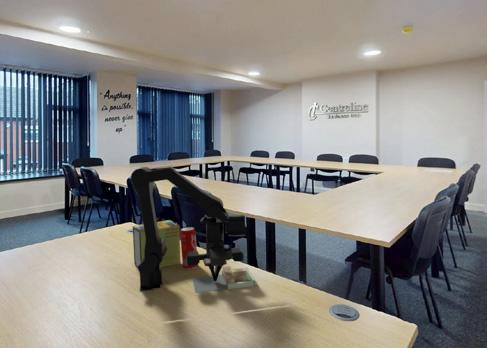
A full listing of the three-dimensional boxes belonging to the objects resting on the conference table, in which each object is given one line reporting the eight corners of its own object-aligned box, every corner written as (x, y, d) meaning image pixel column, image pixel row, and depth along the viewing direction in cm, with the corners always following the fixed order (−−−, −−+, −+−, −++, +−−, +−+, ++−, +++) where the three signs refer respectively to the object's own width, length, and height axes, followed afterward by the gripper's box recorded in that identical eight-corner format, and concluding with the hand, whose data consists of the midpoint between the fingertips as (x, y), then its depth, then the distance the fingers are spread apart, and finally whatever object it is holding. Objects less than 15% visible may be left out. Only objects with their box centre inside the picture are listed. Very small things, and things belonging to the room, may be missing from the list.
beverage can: (195, 270, 123) (194, 231, 122) (178, 269, 125) (177, 230, 123) (200, 264, 129) (199, 226, 128) (184, 263, 131) (183, 226, 129)
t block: (227, 286, 109) (227, 276, 109) (222, 276, 117) (222, 267, 117) (249, 284, 111) (248, 273, 110) (243, 274, 119) (243, 264, 118)
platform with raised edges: (195, 294, 105) (195, 288, 105) (192, 278, 116) (192, 273, 116) (256, 287, 110) (256, 281, 109) (247, 272, 121) (247, 267, 121)
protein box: (181, 263, 130) (180, 225, 129) (142, 273, 122) (140, 231, 120) (171, 256, 139) (169, 219, 137) (133, 264, 130) (131, 225, 129)
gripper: (188, 245, 101) (189, 294, 102) (248, 241, 105) (247, 288, 107) (185, 235, 111) (186, 279, 113) (240, 231, 116) (239, 274, 117)
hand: (215, 280), depth 112 cm, fingers closed
